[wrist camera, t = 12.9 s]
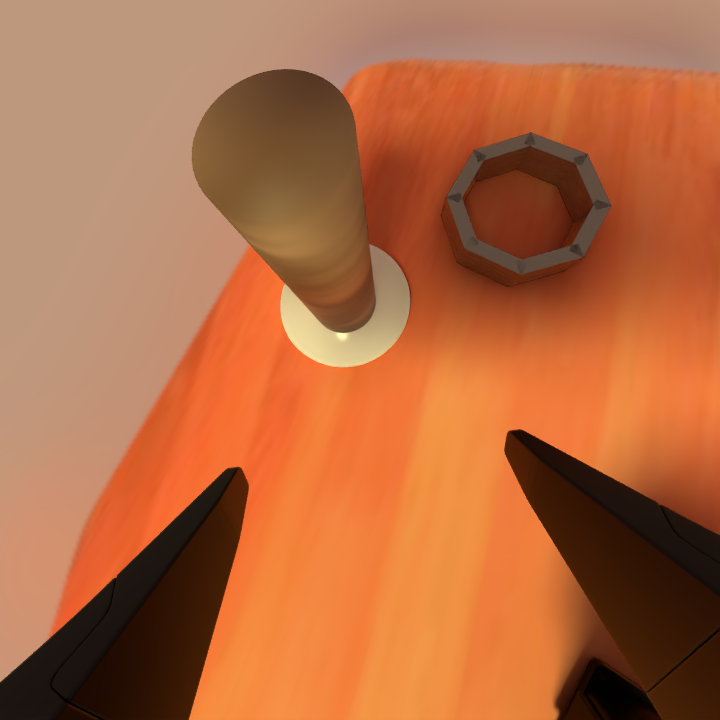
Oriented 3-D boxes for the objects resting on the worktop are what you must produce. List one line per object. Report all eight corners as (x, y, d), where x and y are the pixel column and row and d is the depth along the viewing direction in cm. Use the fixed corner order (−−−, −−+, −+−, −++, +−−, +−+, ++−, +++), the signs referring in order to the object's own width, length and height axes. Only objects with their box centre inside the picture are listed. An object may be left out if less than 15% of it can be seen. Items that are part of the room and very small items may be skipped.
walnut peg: (385, 283, 20) (382, 88, 7) (361, 342, 20) (314, 242, 7) (327, 264, 21) (233, 54, 8) (303, 320, 20) (164, 192, 8)
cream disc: (433, 279, 21) (434, 275, 20) (367, 392, 20) (367, 392, 19) (324, 225, 22) (322, 220, 21) (260, 328, 21) (256, 326, 21)
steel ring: (606, 192, 20) (630, 169, 18) (545, 305, 19) (563, 294, 17) (482, 143, 22) (492, 117, 20) (422, 246, 21) (426, 230, 19)
